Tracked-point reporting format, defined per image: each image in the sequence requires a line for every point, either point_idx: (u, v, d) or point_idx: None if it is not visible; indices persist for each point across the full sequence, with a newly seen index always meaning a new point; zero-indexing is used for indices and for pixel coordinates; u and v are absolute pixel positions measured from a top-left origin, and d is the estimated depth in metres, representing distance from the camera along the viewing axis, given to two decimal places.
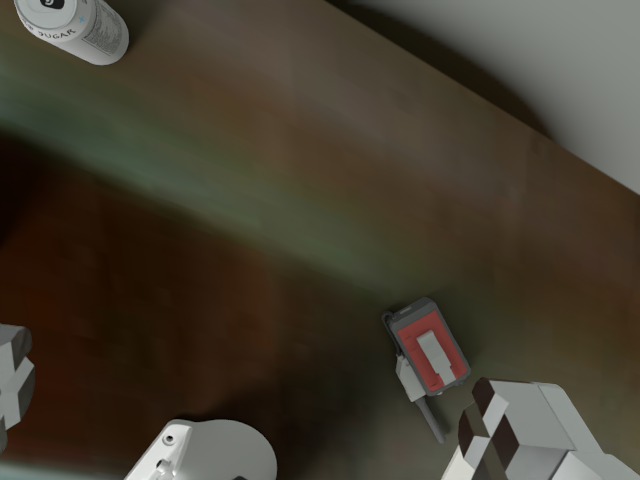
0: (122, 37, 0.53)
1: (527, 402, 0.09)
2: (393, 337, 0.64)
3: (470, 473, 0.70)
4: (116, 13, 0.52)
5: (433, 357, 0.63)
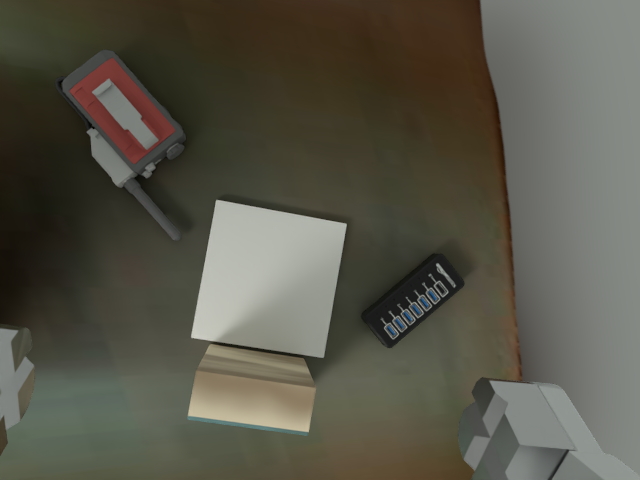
0: None
1: (527, 402, 0.09)
2: (75, 107, 0.52)
3: (233, 279, 0.54)
4: None
5: (116, 109, 0.50)
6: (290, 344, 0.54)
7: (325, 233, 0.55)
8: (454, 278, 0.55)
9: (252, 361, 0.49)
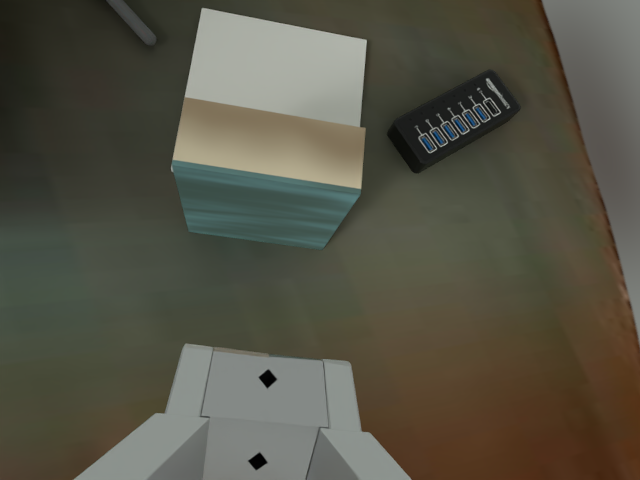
0: None
1: (300, 378, 0.08)
2: None
3: (226, 97, 0.41)
4: None
5: None
6: None
7: (341, 49, 0.44)
8: (508, 98, 0.44)
9: None
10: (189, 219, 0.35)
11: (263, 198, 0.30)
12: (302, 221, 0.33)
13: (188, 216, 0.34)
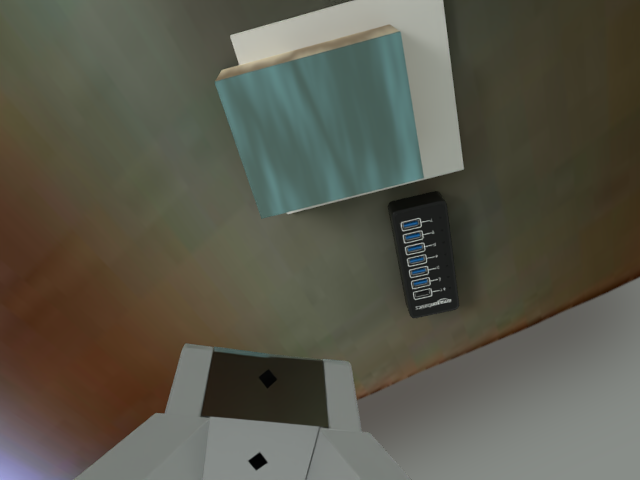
0: None
1: (300, 379, 0.08)
2: None
3: None
4: None
5: None
6: None
7: (442, 149, 0.40)
8: (424, 310, 0.46)
9: None
10: (262, 73, 0.32)
11: (370, 119, 0.34)
12: (334, 168, 0.36)
13: (271, 71, 0.32)
